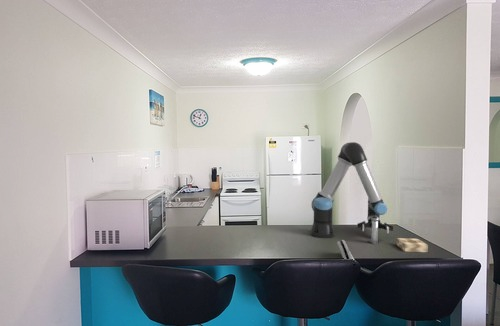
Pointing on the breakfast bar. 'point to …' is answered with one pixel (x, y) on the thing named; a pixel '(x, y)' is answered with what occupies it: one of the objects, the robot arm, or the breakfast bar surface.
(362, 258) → the breakfast bar surface
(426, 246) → the socket block
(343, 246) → the hinge
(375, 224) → the pin
